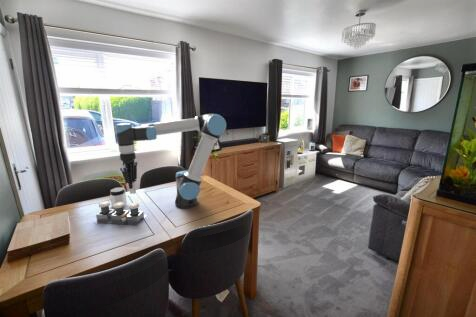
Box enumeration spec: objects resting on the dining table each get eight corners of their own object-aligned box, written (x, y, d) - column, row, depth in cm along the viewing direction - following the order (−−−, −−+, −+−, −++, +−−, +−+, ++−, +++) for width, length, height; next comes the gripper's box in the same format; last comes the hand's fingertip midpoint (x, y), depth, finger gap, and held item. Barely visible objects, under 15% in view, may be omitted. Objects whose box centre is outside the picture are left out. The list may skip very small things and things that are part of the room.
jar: (112, 210, 142) (109, 193, 139) (111, 205, 149) (108, 189, 146) (127, 207, 147) (125, 190, 144) (126, 202, 153) (123, 186, 150)
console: (147, 216, 135) (146, 209, 134) (136, 227, 123) (135, 219, 122) (107, 214, 137) (106, 207, 136) (93, 224, 126) (91, 216, 124)
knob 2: (142, 217, 131) (140, 202, 129) (137, 222, 126) (135, 207, 124) (133, 216, 132) (131, 202, 130) (128, 221, 127) (126, 206, 124)
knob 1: (113, 215, 133) (111, 201, 131) (107, 220, 128) (105, 205, 125) (105, 215, 134) (102, 201, 131) (98, 219, 128) (96, 205, 126)
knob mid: (128, 216, 132) (126, 202, 130) (122, 221, 127) (120, 206, 125) (119, 216, 133) (117, 201, 131) (113, 220, 127) (111, 206, 125)
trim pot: (128, 221, 128) (127, 213, 126) (125, 224, 124) (124, 215, 123) (123, 220, 128) (122, 212, 127) (120, 223, 125) (119, 215, 123)
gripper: (127, 149, 126) (133, 188, 132) (113, 155, 113) (119, 197, 119) (140, 149, 125) (145, 188, 131) (126, 155, 112) (132, 198, 118)
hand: (133, 193), depth 125 cm, fingers closed
